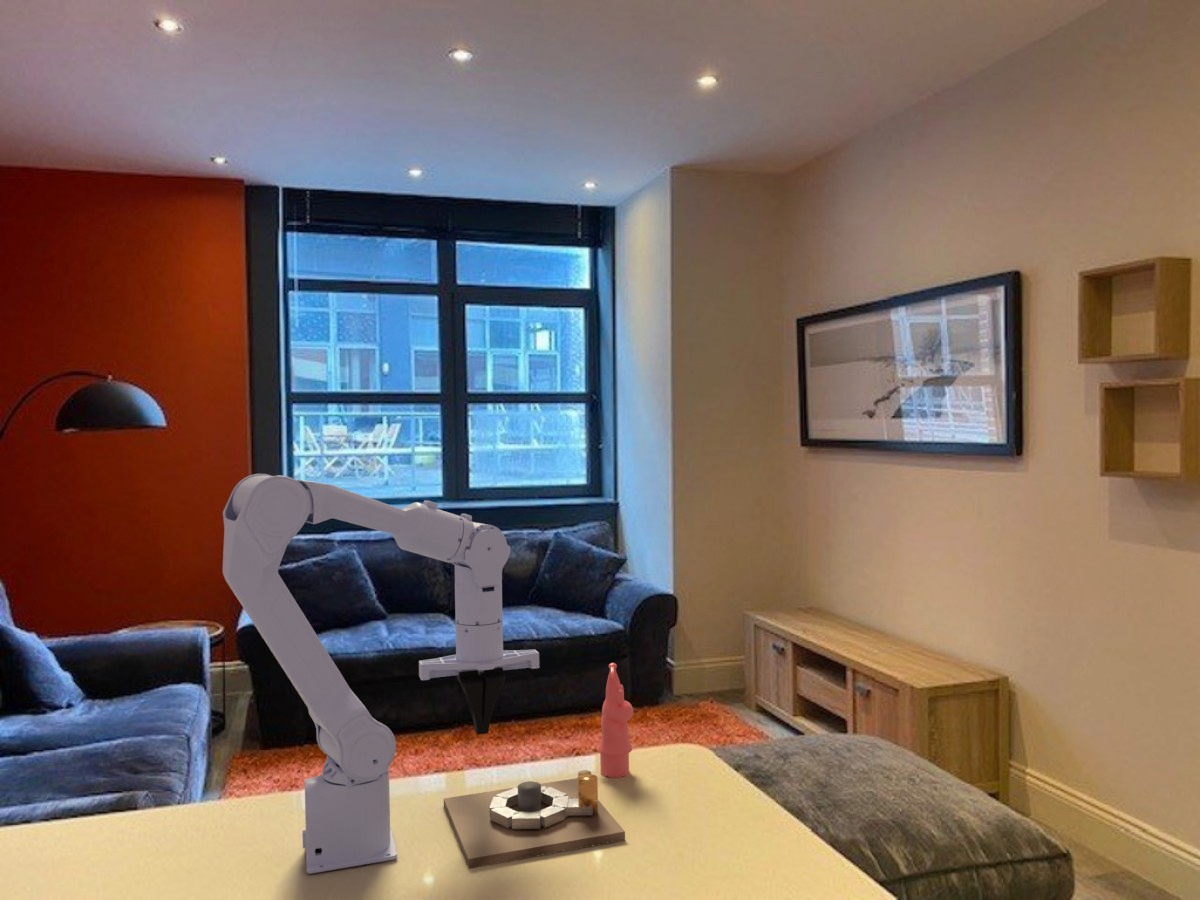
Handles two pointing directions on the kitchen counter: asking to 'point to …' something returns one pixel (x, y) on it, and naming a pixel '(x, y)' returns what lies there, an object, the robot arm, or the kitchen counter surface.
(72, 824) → the kitchen counter surface
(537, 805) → the peg base
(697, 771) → the kitchen counter surface
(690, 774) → the kitchen counter surface
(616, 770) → the figurine
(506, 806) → the white segmented ring
